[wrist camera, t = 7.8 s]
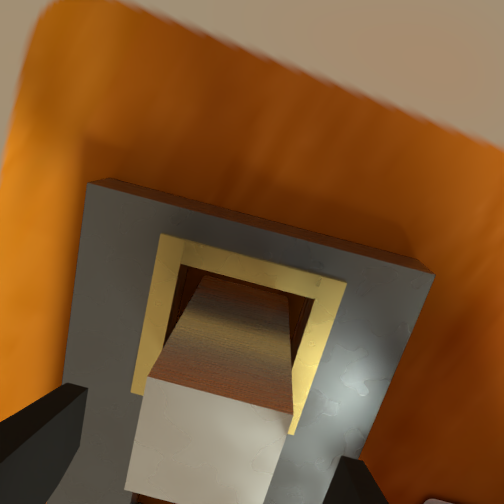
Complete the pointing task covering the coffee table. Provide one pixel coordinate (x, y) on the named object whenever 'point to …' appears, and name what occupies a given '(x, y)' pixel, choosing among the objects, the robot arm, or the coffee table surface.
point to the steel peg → (216, 400)
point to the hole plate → (244, 268)
